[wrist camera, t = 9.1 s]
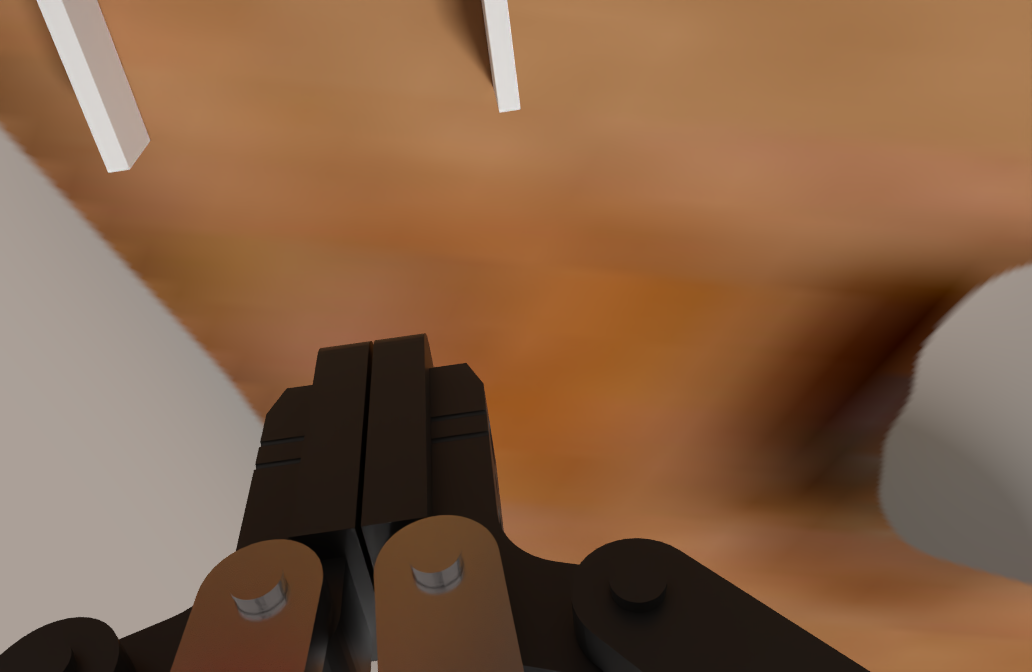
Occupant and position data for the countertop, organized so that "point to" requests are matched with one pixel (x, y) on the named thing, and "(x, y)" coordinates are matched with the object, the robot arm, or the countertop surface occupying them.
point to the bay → (113, 104)
